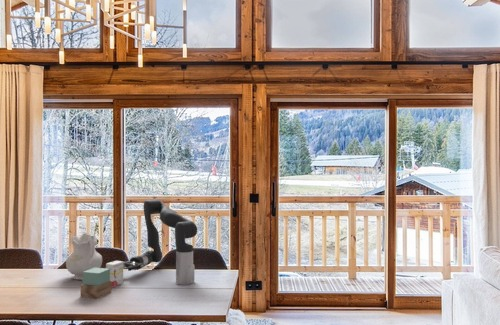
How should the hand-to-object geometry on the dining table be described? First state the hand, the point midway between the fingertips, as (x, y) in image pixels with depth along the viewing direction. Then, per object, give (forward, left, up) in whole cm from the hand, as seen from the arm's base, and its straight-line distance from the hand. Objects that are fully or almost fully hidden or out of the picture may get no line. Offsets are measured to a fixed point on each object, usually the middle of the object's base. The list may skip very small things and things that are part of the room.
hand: (122, 268), depth 217 cm
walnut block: (-2, +24, -7) cm, 25 cm away
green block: (-2, +24, -1) cm, 24 cm away
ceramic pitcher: (+24, 0, -7) cm, 25 cm away
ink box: (0, +7, -7) cm, 10 cm away
